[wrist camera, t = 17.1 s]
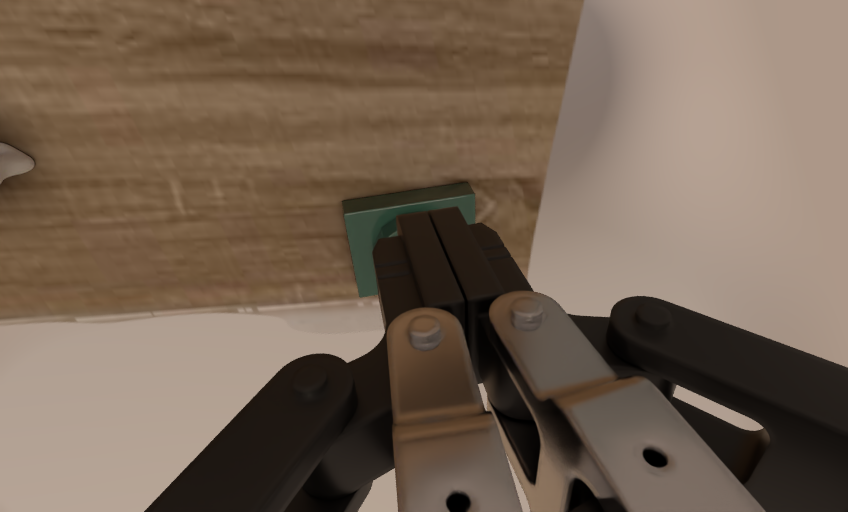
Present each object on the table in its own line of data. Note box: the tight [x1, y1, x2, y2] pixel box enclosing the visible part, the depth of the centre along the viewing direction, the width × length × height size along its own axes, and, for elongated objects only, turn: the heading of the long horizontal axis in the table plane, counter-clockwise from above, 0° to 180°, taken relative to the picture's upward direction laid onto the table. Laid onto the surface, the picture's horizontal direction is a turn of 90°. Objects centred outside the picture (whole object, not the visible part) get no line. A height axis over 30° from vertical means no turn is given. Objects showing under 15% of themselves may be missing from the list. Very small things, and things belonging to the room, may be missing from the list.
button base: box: [342, 182, 475, 298], centre depth 38 cm, size 10×8×4 cm
